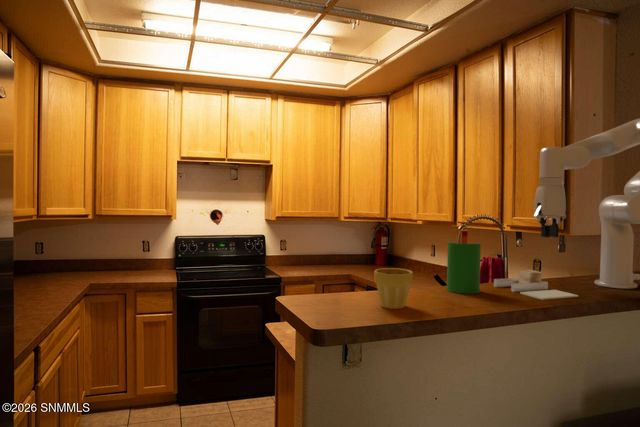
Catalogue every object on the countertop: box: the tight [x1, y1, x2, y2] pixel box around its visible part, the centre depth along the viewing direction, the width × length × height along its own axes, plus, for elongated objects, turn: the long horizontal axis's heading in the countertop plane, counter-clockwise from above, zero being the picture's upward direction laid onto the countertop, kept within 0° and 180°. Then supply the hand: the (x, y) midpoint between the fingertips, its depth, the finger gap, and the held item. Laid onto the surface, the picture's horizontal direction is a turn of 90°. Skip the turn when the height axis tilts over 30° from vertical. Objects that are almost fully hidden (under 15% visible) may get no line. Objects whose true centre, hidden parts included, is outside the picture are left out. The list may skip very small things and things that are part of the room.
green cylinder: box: [446, 229, 482, 295], centre depth 149 cm, size 10×9×20 cm
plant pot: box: [373, 267, 414, 310], centre depth 127 cm, size 10×10×10 cm
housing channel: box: [493, 277, 549, 293], centre depth 155 cm, size 14×9×2 cm
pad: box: [519, 289, 579, 301], centre depth 144 cm, size 14×9×1 cm, turn 109°
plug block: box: [518, 269, 543, 283], centre depth 157 cm, size 5×5×6 cm
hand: (549, 236), depth 159 cm, fingers open, 3 cm apart
